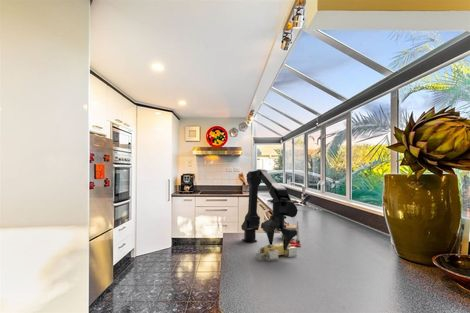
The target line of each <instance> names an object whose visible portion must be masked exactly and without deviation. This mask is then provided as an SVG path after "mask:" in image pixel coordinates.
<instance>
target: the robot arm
mask: <svg viewBox="0 0 470 313" xmlns="http://www.w3.org/2000/svg"><path fill="white" fill-rule="evenodd" d="M245 177H246V183H247V185H248V186H249V187H248V189H249V190H248V204H247V205H248V207H247V213H246V214H245V216H244V221H243V223H242V224H241V230H242V231H244V233H243V236H244V237H243V238H242V239H241V241H244V242H245V243H247V244H248V243H249V244H251V243H257V242H258V240H257V239H256V237H257V236H256V231H259V228H261V229H262V231H263V232H265V233H266V237H267V241H268V243H269V244H268V245H273V242H274V237H275V231H277V232H280V231H281V232H282V234H283V235H280V236H281V238H282V239H283V240H282V241H283V242H282V243H283V248H284V250H286V249H287V247H288V245H289V244H291V243H290V241H292V240H291V239H292V238H293V237H294V238H296V235H297V230H296V229H294V228H285V227H286V225H284V224H285V219H287V217H289V218H295V217H297V214H298V213H299V212H298V207H297V205H296V204H295V201H292V199H291V197H290V195H289V192H288V190H287V188H286V187H285V186H283V185H282V184H279V183H278V182H276V180H275V179H274V178H273V177H272V176H271V175H270V174H269V172H268V170H267V169H257V170H252V171H250V170H249V171H248V173H247V174H246V176H245ZM262 183H263V184H264V185H265V187H267V188H268V193H269V195H270V197H271V200H270V204H272V215H270V216H269V219H267V220H265V221H264V222H261V216H259V215H258V211H257V210H258V193H259V192H258V191H259V186H260V185H261V184H262ZM294 238H293V239H294ZM256 241H257V242H256Z"/></svg>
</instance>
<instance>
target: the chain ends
mask: <svg viewBox="0 0 470 313" xmlns="http://www.w3.org/2000/svg"><path fill="white" fill-rule="evenodd" d="M297 251H298V250H297V246H293V247H288V248H287V254H282V256H285V257H286V258H292V257H297ZM256 260H258V261H259V262H263V261H267V262H269V263H270V262H276V261H279V255H278V250H273V251H268V257H267V256H266V254H264V246H259V247H258V250H257V253H256Z"/></svg>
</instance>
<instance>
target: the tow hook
mask: <svg viewBox="0 0 470 313" xmlns="http://www.w3.org/2000/svg"><path fill="white" fill-rule="evenodd" d="M295 226H297V235H296V236H295V238H296V240H295V241H293V240H291V241H290V243H289V244H291V247H293V246H294V247H301V246H302V245H301V241H300V230H299V229H300V228H299V227H300V226H299V221H296V225H295Z"/></svg>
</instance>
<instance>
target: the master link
mask: <svg viewBox="0 0 470 313" xmlns="http://www.w3.org/2000/svg"><path fill="white" fill-rule="evenodd" d="M291 244H292V243H289V245H288V247H291ZM263 247H264V254H266V256H267V257H268V251H273V250H278V256H281V255H282V254H287V249H286V250H284V248H283V242H279V243H274V244H273V243H272V245H270V244H267V245H263ZM288 247H287V248H288ZM282 256H283V255H282Z"/></svg>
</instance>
